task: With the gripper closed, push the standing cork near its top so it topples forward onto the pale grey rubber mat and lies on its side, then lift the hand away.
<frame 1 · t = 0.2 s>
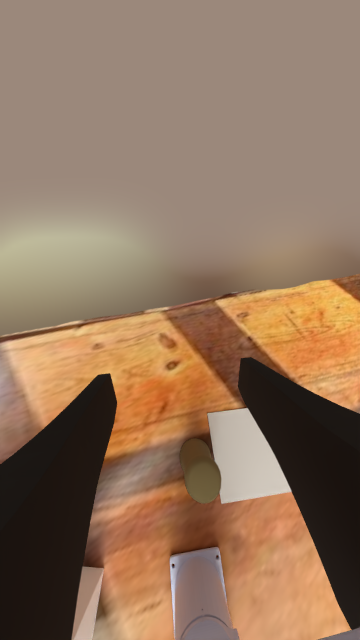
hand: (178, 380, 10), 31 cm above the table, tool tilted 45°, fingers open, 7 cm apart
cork: (195, 456, 34), on the table
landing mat: (246, 449, 34), on the table
milk: (53, 625, 25), on the table
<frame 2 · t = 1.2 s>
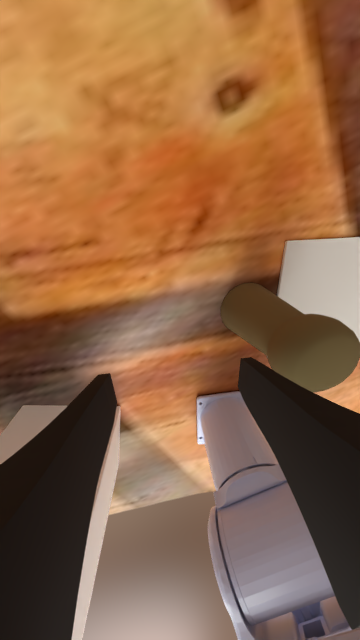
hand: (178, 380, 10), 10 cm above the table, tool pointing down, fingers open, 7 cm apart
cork: (245, 308, 21), on the table
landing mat: (325, 302, 21), on the table
milk: (77, 436, 25), on the table
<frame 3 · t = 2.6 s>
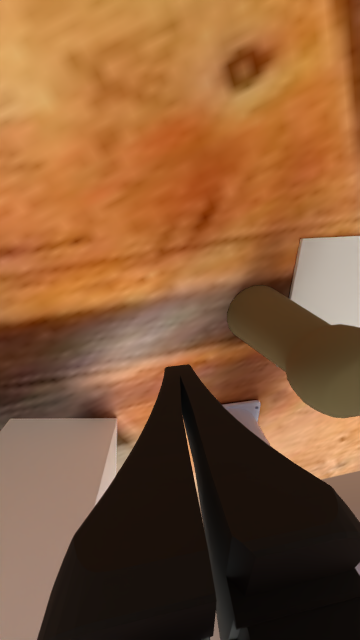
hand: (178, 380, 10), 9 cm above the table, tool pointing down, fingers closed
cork: (253, 313, 19), on the table
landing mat: (341, 306, 19), on the table
milk: (70, 450, 23), on the table
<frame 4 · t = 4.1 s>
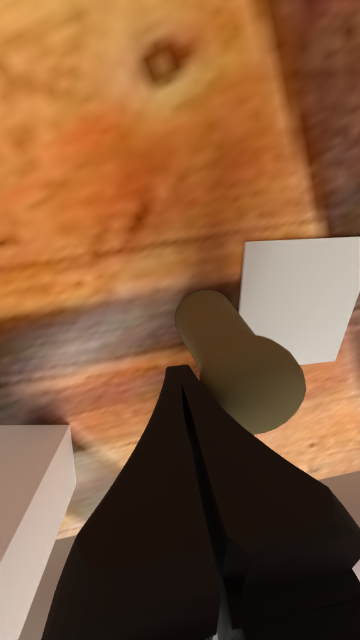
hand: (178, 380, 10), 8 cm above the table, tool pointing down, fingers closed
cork: (203, 318, 18), on the table, touching gripper
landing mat: (296, 311, 19), on the table
milk: (24, 457, 22), on the table
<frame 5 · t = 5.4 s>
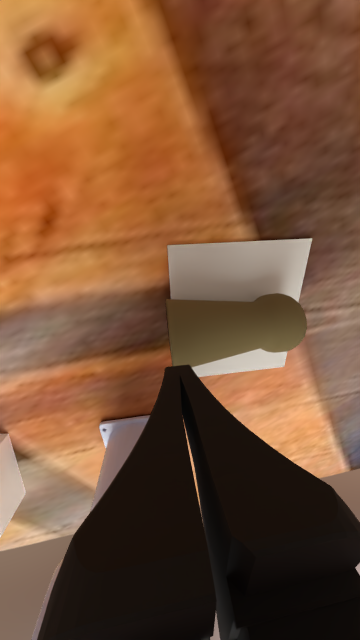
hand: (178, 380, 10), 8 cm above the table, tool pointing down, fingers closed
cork: (167, 335, 15), point 3 cm above the table, touching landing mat
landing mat: (235, 316, 18), on the table
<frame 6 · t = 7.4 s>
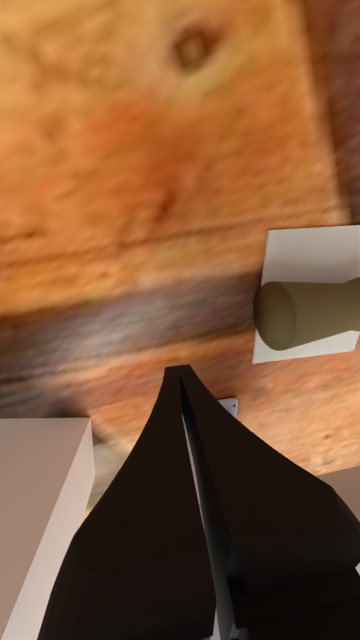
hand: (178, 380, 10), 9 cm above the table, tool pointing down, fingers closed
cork: (269, 316, 15), point 3 cm above the table, touching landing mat
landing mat: (316, 300, 19), on the table
milk: (45, 450, 23), on the table
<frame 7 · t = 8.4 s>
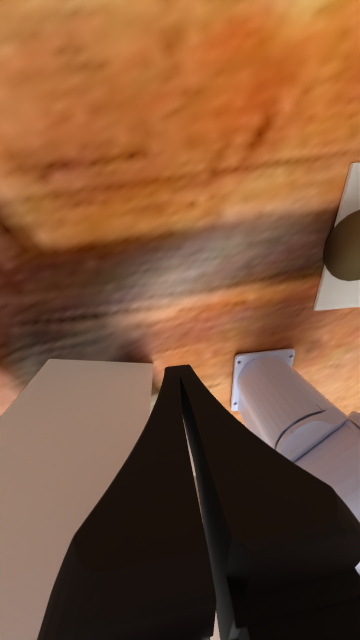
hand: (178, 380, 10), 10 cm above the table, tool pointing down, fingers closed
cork: (351, 247, 16), point 3 cm above the table, touching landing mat
milk: (104, 399, 23), on the table
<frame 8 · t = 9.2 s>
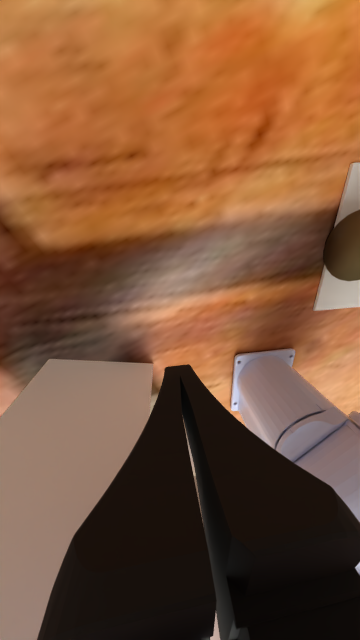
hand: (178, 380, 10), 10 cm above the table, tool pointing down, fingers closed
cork: (351, 247, 16), point 3 cm above the table, touching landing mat
milk: (104, 399, 23), on the table
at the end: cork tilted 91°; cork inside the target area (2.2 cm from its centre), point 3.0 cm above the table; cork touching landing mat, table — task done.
